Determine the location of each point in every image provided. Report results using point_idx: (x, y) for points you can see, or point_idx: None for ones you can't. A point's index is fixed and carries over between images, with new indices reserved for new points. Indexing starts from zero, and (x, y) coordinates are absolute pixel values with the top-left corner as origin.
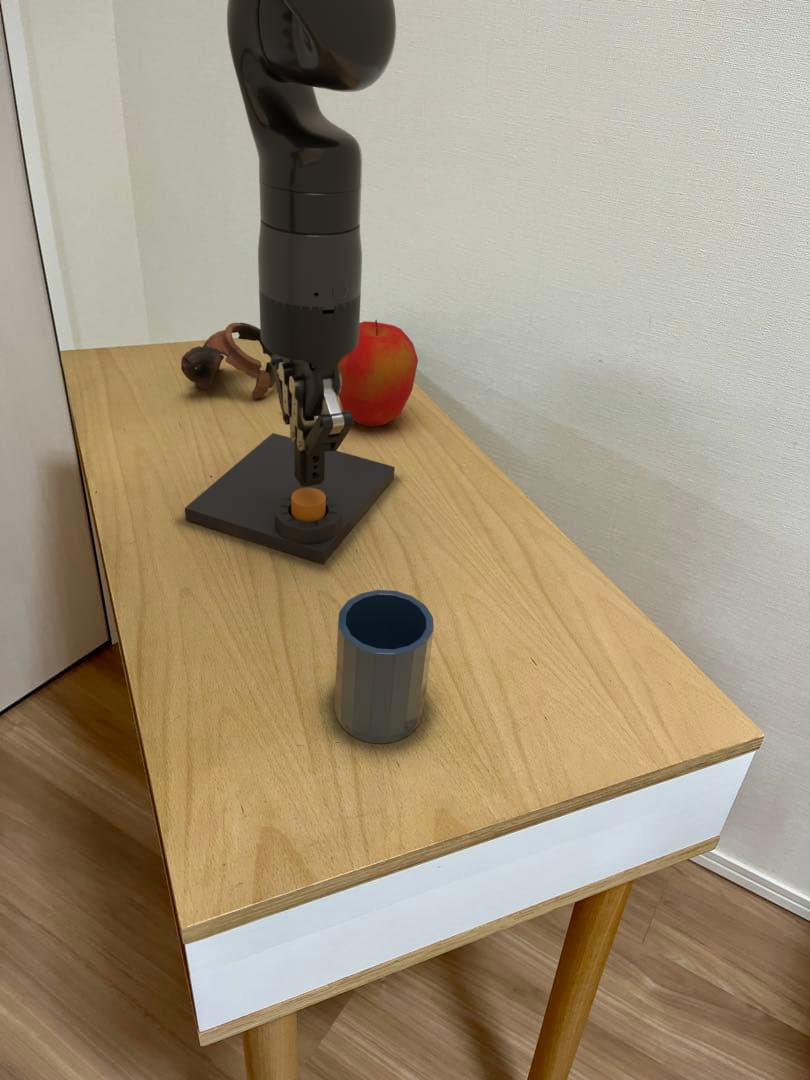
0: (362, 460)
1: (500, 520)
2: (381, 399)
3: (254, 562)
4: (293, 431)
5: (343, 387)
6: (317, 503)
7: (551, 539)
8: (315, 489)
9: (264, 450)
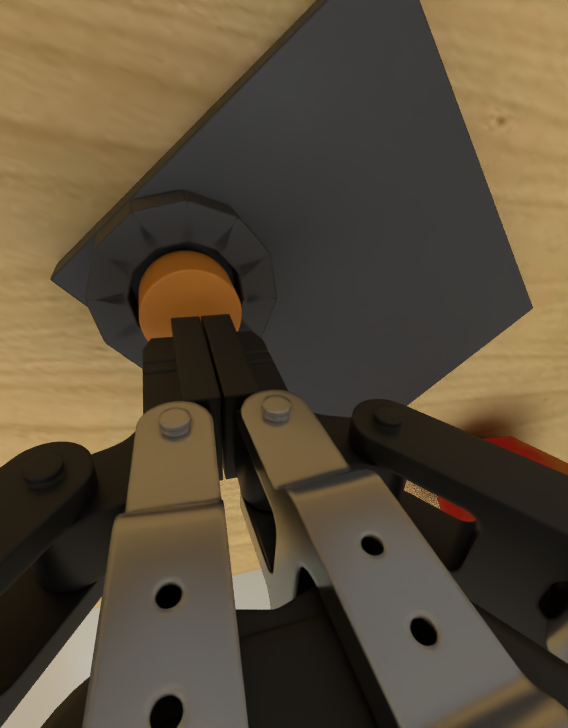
0: None
1: None
2: (464, 519)
3: (101, 84)
4: (267, 428)
5: None
6: (148, 332)
7: None
8: None
9: (494, 273)
